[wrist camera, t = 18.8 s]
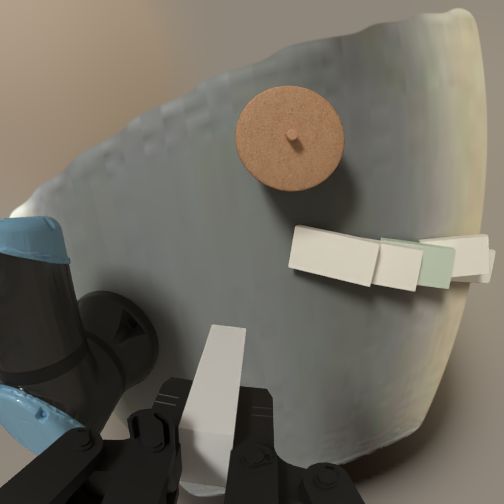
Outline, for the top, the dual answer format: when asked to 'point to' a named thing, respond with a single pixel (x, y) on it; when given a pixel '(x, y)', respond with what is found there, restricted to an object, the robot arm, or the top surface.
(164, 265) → the top surface
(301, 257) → the tile
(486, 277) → the tile
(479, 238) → the tile
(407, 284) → the tile
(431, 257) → the tile
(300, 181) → the lidded jar
